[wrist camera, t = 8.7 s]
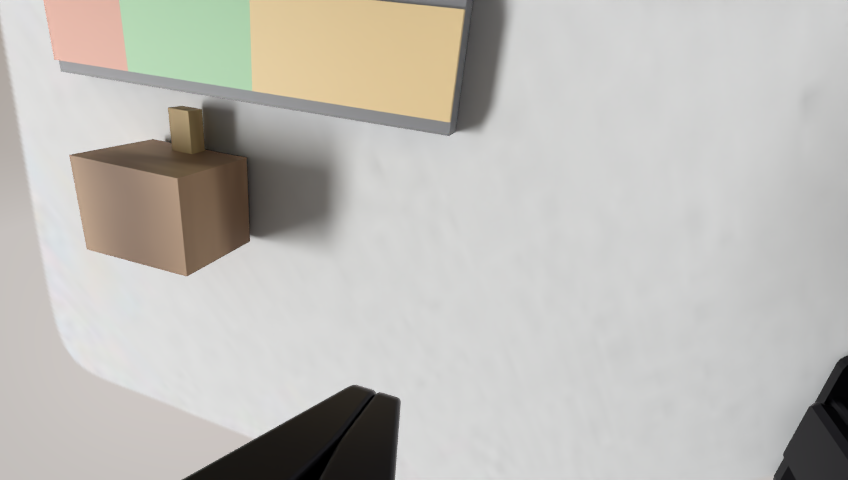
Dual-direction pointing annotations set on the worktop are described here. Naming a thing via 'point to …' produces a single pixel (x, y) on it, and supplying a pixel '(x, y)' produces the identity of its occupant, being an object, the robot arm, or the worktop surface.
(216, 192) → the block
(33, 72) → the worktop surface
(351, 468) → the robot arm
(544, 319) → the worktop surface
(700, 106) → the worktop surface
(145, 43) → the tuner gauge
